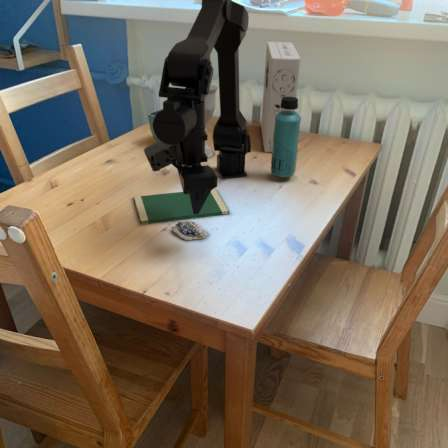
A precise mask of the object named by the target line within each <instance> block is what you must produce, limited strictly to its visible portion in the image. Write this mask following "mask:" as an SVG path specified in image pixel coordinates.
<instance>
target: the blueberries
mask: <svg viewBox="0 0 448 448" xmlns="http://www.w3.org/2000/svg"><path fill="white" fill-rule="evenodd" d="M201 228H202V227H201V226H199V223H197V224H196V222H194V221H192V220H191V221H190V220H186V221H177V223H175V224H174V226H170V230H172V231H173V232H174V233H175V234H176V235H177V236H178V237H179V238H181V239H184V240H185V241H193V240H194V241H195V240H205V239H206V237H207V236H208V234H207V232H205V231H204V230H202V229H201Z"/></svg>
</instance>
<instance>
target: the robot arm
mask: <svg viewBox="0 0 448 448" xmlns="http://www.w3.org/2000/svg"><path fill="white" fill-rule="evenodd" d="M249 17H250V16H249V12H248V10H247V9H246V8H245V6H244V5H242V4H240V3H237V2H235V1H233V0H201V7H200V9H199V12H198V13H197V15H196V18H195V20H194V22H193V24H192V26H191V28H190V30H189V33H188V35H187V36H186V38H184V39H183V40H181V41H179V42H176V43H175V44H174V45H173V46H172V48H171V49H170V51H169V52H168V53H167V56H166V57H165V58H164V61H163V67H162V73H161V79H160V84H159V88H158V89H159V90H158V98H164V99H165V98H166V99H165V100H163V102H162V108H161V109H162V110H161V111H159V112H158V113H157V114H156V116H155V118H154V121H153V130H154V133H155V135H156V136H157V138H158V139H159V140H160V141H159V142H157V141H156V142H155V143H152V144H150V145H148V146H146V147H145V148H144V149H143V153H144V155H145V158H146V159H147V161H148V164H149V166H150V168H151V170H152V172H159V171H161V170H162V169H164V168H166V167H169V166H171V165H172V166H173V167H174V168H175V169H176V170H177V174H178V177H179V182H180V186H181V188H182V189H181V190H182V192H183V193H184V194H189V196H190V201H191V206H192V210H193V214H199V213H200V211H201V209H202V207H203V205H204V203H205V201H206V199H207V197H208V195H209V194H210V192H211V191H212V189H216V188H217V187H218V175H217V174H216V172H215V171H214V169H213V168H212V167H210V165H202V163H208V157H207V155H206V154H205V140H206V141H208V134H207V132H205V100H204V99H205V96H206V95H208V93H209V89H210V85H212V80H213V76H214V67H213V64H212V61H211V54H212V52H213V50H215V52H216V54H217V55H216V56H217V71H218V72H217V73H218V93H219V108H220V109H219V114H220V115H219V117H218V119H217V121H216V122H215V125H214V127H213V130H212V142H213V150H214V151H215V152H217V151H218V154H217V155H216V171H217V172H218V173H219V175H220V176H221V177H222V178H223V179H230V178H239V177H246V176H247V172H246V170H245V168H246V155H247V154H249V153H251V152H252V139H251V135H250V132H249V129H247V119H246V118H245V116H244V115H243V114H242V112H241V110H240V59H239V58H240V57H239V56H240V54H239V53H240V46H241V44H242V42H243V41H244V39H245V37H246V36H247V35H246V34H247V31H248V29H249V19H250V18H249ZM170 85H171V86H170Z"/></svg>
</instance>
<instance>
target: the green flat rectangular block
mask: <svg viewBox="0 0 448 448" xmlns="http://www.w3.org/2000/svg"><path fill="white" fill-rule="evenodd" d="M133 203H134V206H135V209H136V213H137V216H138V219H139V224H140V225H145V224H154V223H161V222H171V221H179V220H189V219H199V218H206V217H215V216H223V215H230V210H229V208H228V207H227V205H226V203H225V202H224V200H223V198H222V197H221V195H220V193H219V191H218V189H216V188H214V189H212V191H211V192H210V194H209V195H208V197H207V199H206V201H205V203H204V205H203V207H202V209H201V211H200V213H199V214H193V210H192V206H191V201H190V196H189V194H184V193H183V191H178V192H168V193H157V194H148V195H137V196H133Z"/></svg>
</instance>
